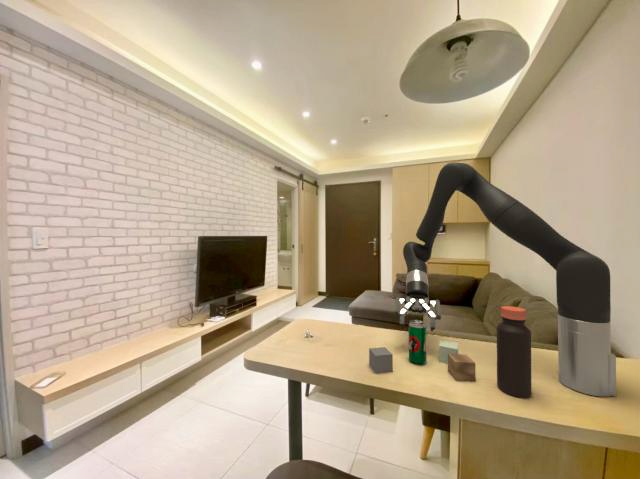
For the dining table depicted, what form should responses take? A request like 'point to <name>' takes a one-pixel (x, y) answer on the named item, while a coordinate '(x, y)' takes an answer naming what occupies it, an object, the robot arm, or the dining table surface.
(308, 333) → the power adapter
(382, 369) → the charcoal block
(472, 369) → the walnut block
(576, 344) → the robot arm
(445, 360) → the sage block
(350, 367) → the dining table surface
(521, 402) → the dining table surface
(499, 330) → the bottle
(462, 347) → the dining table surface
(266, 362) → the dining table surface
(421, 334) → the soda can
